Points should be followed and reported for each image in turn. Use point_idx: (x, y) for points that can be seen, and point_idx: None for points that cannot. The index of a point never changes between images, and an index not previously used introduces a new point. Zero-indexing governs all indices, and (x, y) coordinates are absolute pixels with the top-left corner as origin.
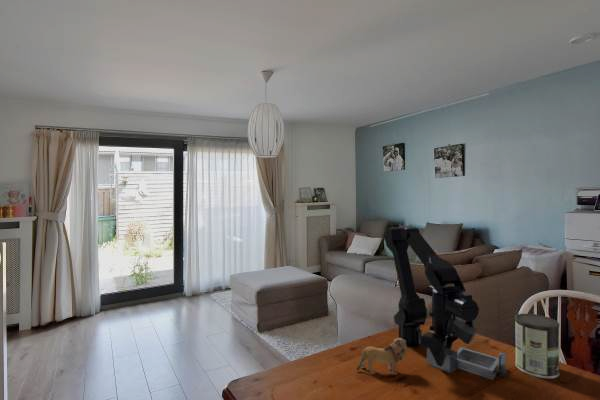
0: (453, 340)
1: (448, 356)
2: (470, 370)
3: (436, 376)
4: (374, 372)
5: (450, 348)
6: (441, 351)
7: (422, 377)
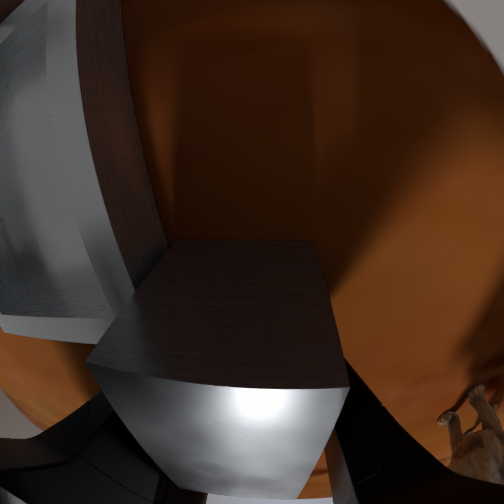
0: (37, 479)
1: (342, 384)
2: (127, 131)
3: (426, 285)
4: (496, 408)
5: (102, 412)
6: (441, 470)
7: (471, 324)
